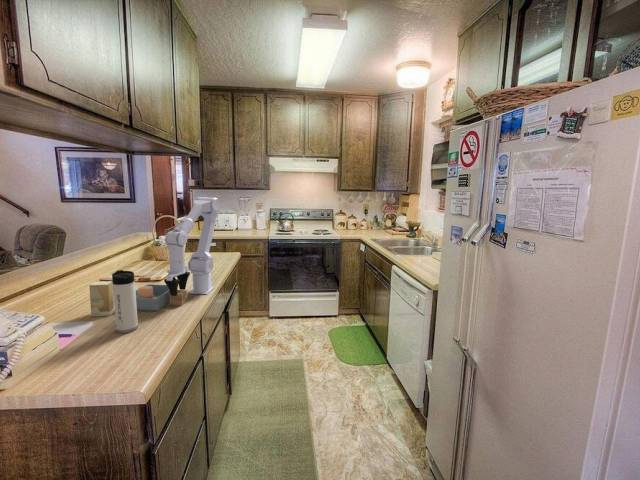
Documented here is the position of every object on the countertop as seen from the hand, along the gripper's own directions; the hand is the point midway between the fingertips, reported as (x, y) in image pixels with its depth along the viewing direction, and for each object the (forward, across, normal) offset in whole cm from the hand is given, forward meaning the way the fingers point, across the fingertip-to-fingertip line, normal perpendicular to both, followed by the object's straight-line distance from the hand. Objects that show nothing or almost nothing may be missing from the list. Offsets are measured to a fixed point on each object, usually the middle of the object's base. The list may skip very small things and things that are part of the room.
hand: (178, 292), depth 127 cm
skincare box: (+5, +13, -22) cm, 26 cm away
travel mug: (+5, +24, -6) cm, 25 cm away
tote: (+5, 0, -11) cm, 12 cm away
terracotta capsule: (+4, +4, -11) cm, 12 cm away
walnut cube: (+5, 0, 0) cm, 5 cm away
